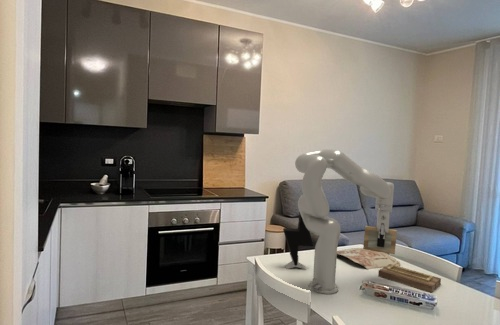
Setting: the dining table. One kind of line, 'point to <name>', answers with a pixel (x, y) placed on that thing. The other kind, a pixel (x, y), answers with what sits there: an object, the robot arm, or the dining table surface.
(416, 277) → the display stand
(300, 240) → the award
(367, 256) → the poster
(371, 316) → the dining table surface
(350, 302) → the dining table surface
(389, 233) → the wooden plaque
